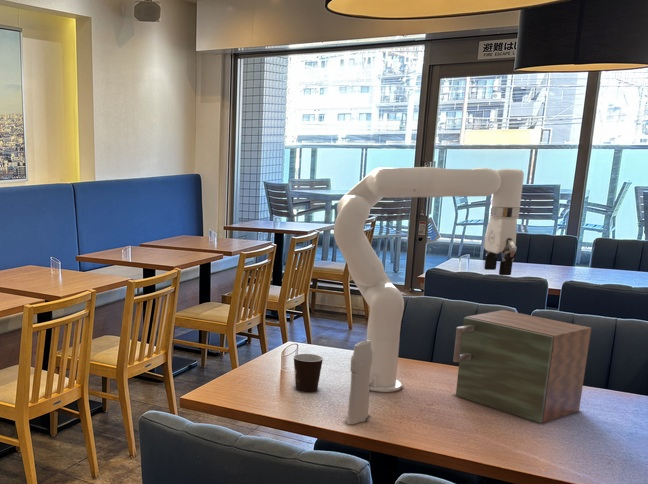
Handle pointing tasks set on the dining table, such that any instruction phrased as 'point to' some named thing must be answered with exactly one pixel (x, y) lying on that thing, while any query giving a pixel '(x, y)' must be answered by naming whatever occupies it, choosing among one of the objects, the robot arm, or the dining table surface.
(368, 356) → the tall pale column
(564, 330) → the cupboard
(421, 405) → the dining table surface
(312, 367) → the coffee mug
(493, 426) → the dining table surface
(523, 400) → the cupboard door
